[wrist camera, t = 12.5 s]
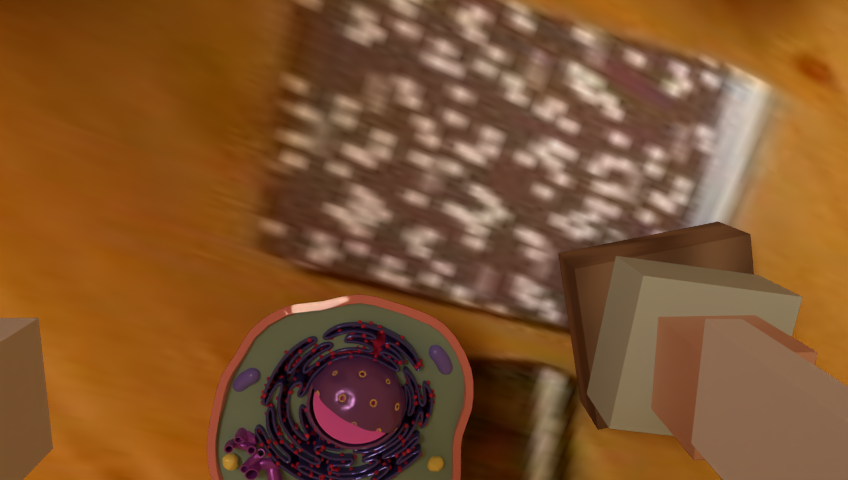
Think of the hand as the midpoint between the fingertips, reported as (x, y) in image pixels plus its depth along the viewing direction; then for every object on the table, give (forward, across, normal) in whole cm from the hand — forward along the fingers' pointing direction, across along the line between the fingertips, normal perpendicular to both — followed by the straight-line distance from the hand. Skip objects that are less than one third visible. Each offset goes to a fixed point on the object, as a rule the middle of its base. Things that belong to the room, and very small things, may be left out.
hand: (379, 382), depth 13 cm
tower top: (+30, +20, -10) cm, 37 cm away
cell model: (+35, -3, -16) cm, 39 cm away
